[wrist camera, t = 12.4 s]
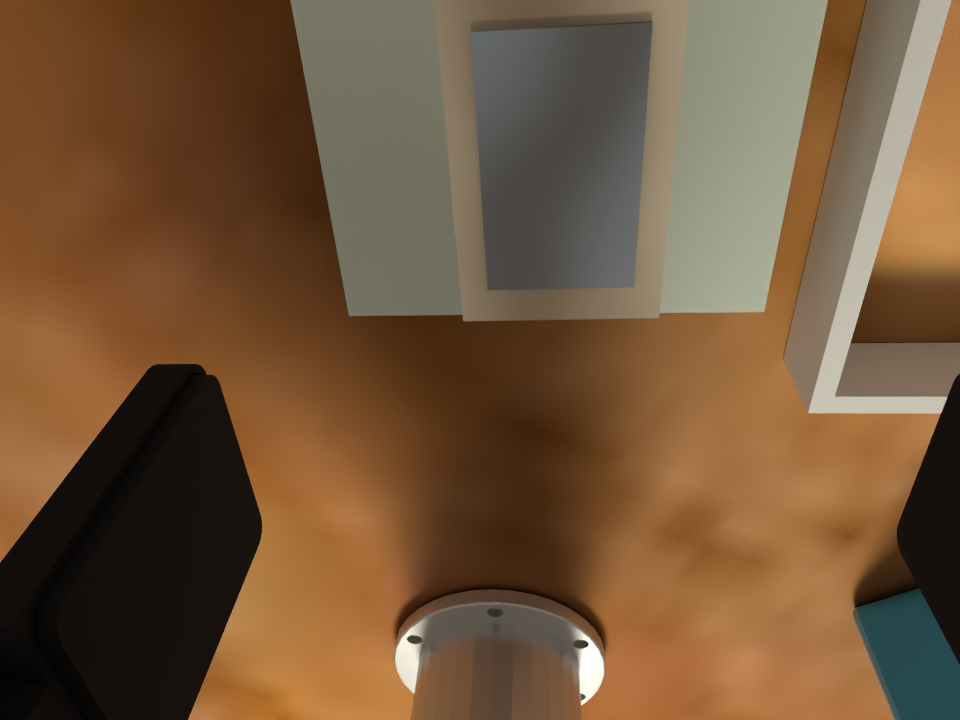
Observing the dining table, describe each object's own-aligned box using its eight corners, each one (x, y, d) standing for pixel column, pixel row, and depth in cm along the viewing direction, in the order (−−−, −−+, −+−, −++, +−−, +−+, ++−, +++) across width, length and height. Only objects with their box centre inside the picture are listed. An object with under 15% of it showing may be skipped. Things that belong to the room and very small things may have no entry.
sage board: (754, 291, 29) (765, 314, 27) (356, 296, 30) (347, 318, 29) (873, -329, 18) (901, -342, 17) (256, -279, 20) (234, -288, 18)
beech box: (643, -79, 20) (693, -37, 14) (627, 192, 25) (659, 321, 18) (465, -68, 21) (431, -22, 14) (482, 197, 25) (462, 324, 19)
